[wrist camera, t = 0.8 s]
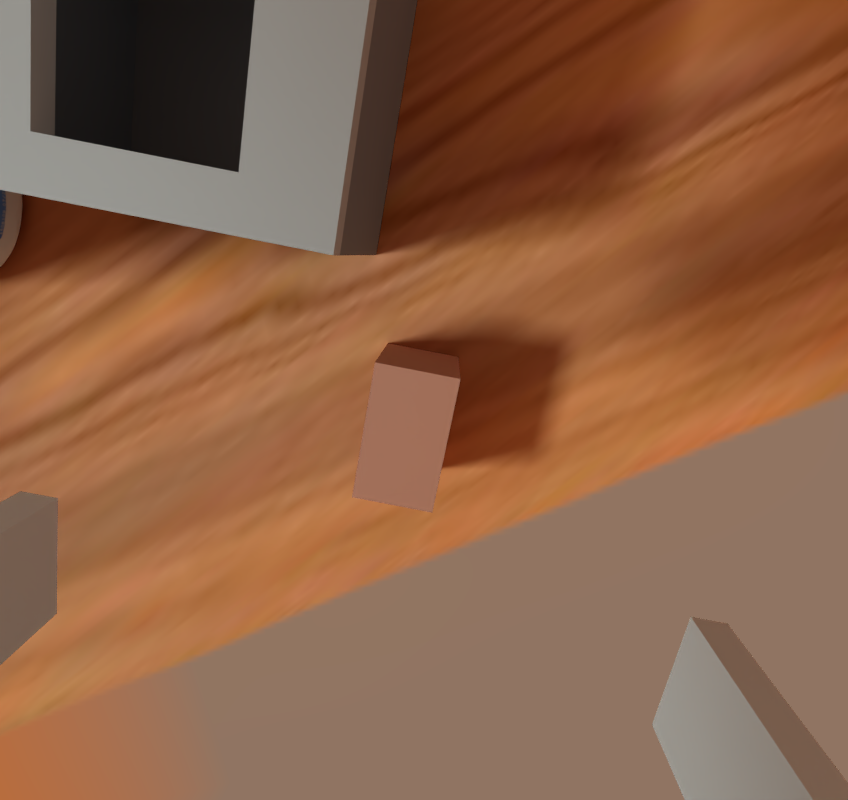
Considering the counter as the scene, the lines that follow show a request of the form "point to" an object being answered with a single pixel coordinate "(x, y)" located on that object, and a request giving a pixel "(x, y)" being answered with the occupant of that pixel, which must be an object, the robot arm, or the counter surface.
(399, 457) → the block
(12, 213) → the supplement tub
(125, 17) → the box
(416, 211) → the counter surface
